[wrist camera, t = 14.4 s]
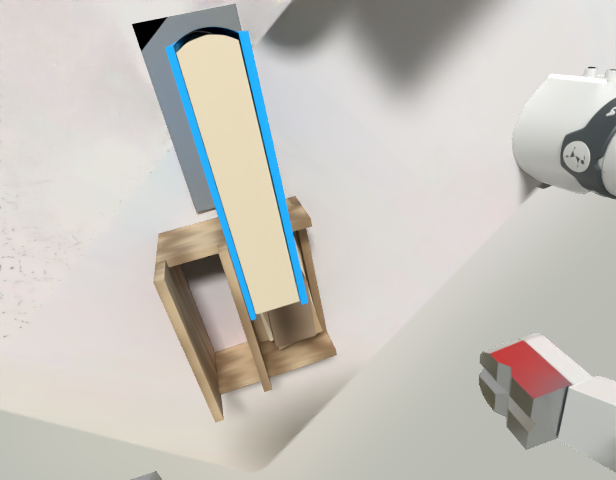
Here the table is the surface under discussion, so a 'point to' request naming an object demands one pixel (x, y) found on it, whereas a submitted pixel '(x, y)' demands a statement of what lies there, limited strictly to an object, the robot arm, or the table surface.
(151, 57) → the mat
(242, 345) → the rack
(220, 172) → the book
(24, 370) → the table surface
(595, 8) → the table surface
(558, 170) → the robot arm
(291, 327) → the offcut small
